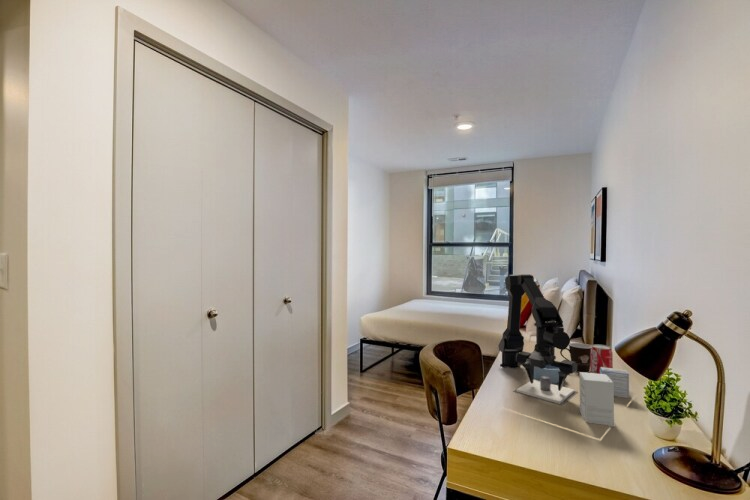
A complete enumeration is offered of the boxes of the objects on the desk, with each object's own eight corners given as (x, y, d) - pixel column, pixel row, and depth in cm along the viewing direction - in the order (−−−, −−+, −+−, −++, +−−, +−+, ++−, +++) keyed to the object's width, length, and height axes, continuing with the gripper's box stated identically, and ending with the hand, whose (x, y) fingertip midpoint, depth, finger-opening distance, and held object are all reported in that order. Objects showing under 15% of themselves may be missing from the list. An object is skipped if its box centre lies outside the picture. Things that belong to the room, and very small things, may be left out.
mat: (512, 393, 126) (512, 391, 126) (531, 381, 137) (531, 380, 137) (561, 407, 114) (561, 405, 114) (578, 393, 125) (578, 391, 125)
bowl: (526, 379, 140) (526, 364, 140) (538, 372, 147) (538, 359, 147) (557, 386, 132) (557, 371, 132) (567, 379, 139) (567, 365, 139)
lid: (516, 391, 125) (516, 377, 126) (533, 381, 135) (533, 368, 135) (559, 403, 115) (559, 388, 115) (574, 391, 125) (574, 377, 125)
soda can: (606, 377, 141) (606, 344, 141) (616, 384, 134) (616, 349, 134) (586, 376, 142) (586, 343, 142) (596, 383, 134) (596, 348, 135)
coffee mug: (593, 368, 152) (593, 344, 152) (592, 374, 144) (592, 349, 144) (562, 364, 158) (561, 341, 158) (559, 369, 151) (559, 345, 151)
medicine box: (626, 394, 124) (626, 369, 124) (629, 399, 120) (629, 373, 120) (599, 391, 127) (599, 366, 127) (601, 395, 123) (601, 370, 123)
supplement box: (607, 416, 108) (606, 373, 108) (614, 427, 101) (614, 382, 101) (579, 412, 110) (578, 371, 110) (584, 423, 103) (584, 379, 103)
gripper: (508, 340, 127) (508, 385, 126) (566, 351, 113) (566, 401, 113) (522, 335, 134) (522, 377, 134) (577, 344, 121) (577, 391, 121)
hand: (545, 386), depth 125 cm, fingers open, 9 cm apart
